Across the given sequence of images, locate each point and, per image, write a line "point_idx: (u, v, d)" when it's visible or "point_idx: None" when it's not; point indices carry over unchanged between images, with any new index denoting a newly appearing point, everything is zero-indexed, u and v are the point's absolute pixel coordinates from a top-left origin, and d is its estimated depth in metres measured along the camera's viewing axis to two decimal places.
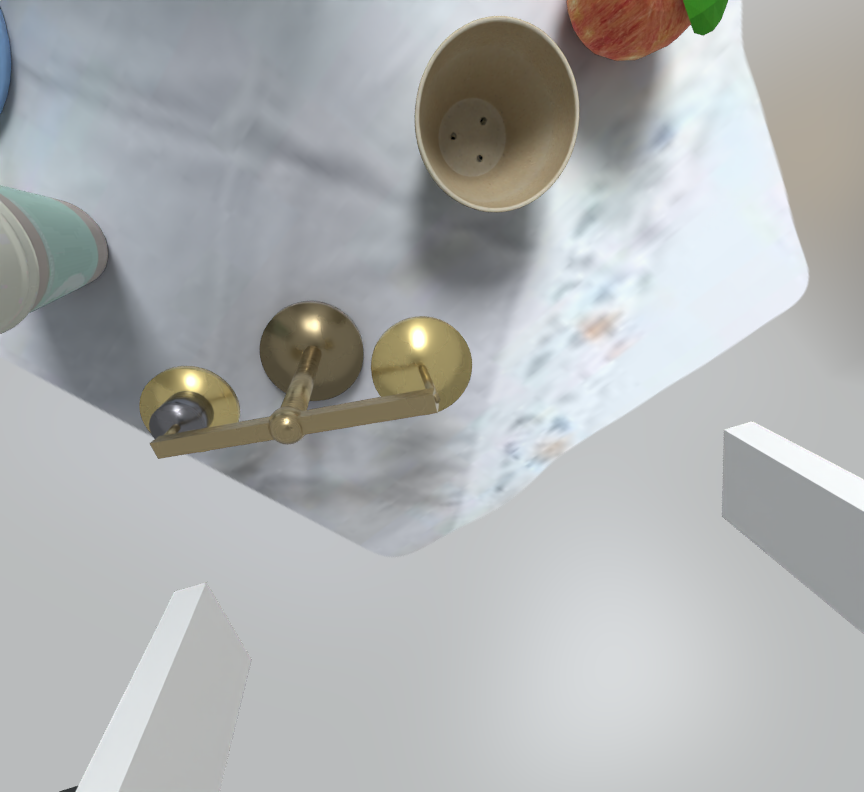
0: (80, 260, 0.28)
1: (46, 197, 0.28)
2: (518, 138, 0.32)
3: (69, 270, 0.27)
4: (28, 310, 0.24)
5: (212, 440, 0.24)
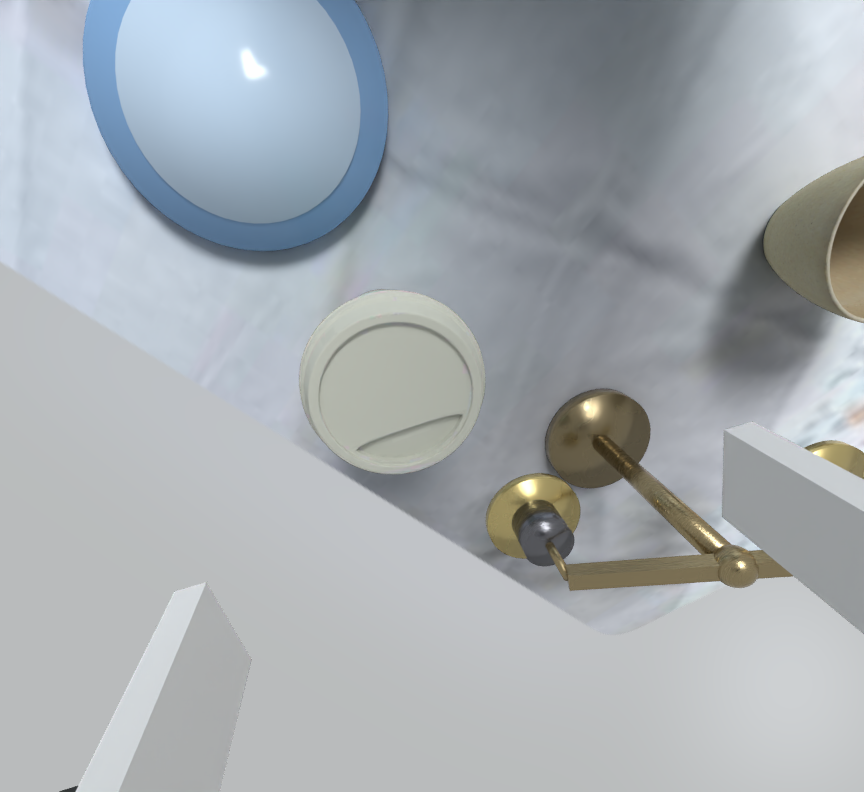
0: None
1: None
2: (854, 235, 0.31)
3: None
4: None
5: (644, 577, 0.23)
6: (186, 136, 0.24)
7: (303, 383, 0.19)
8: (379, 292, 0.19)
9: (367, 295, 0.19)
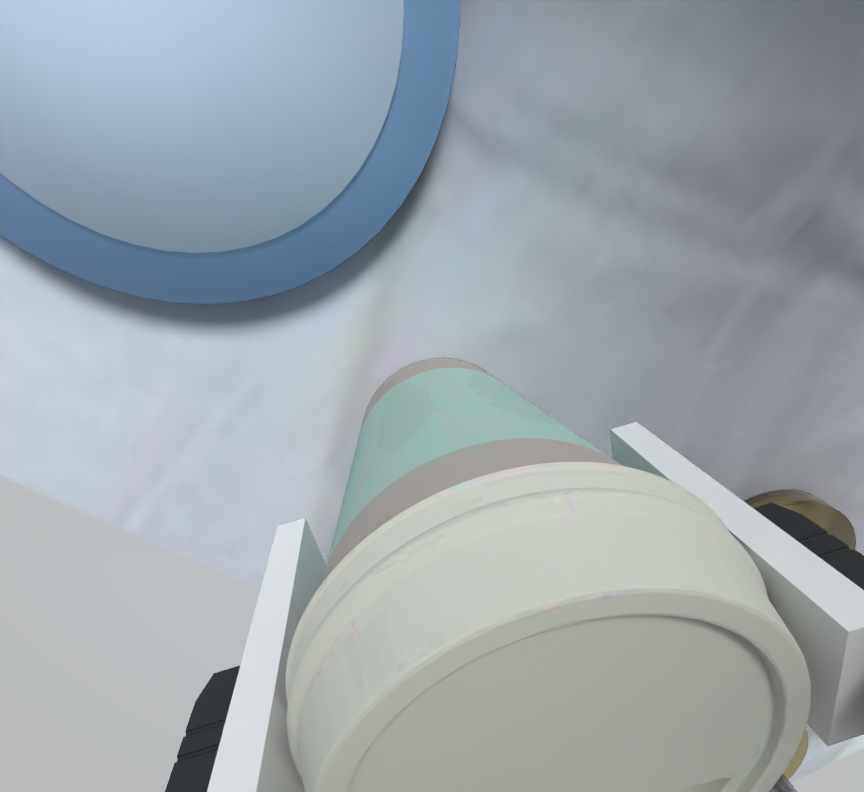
0: None
1: (491, 378, 0.14)
2: None
3: None
4: None
5: None
6: (33, 74, 0.11)
7: (295, 733, 0.07)
8: (511, 473, 0.07)
9: (476, 484, 0.07)
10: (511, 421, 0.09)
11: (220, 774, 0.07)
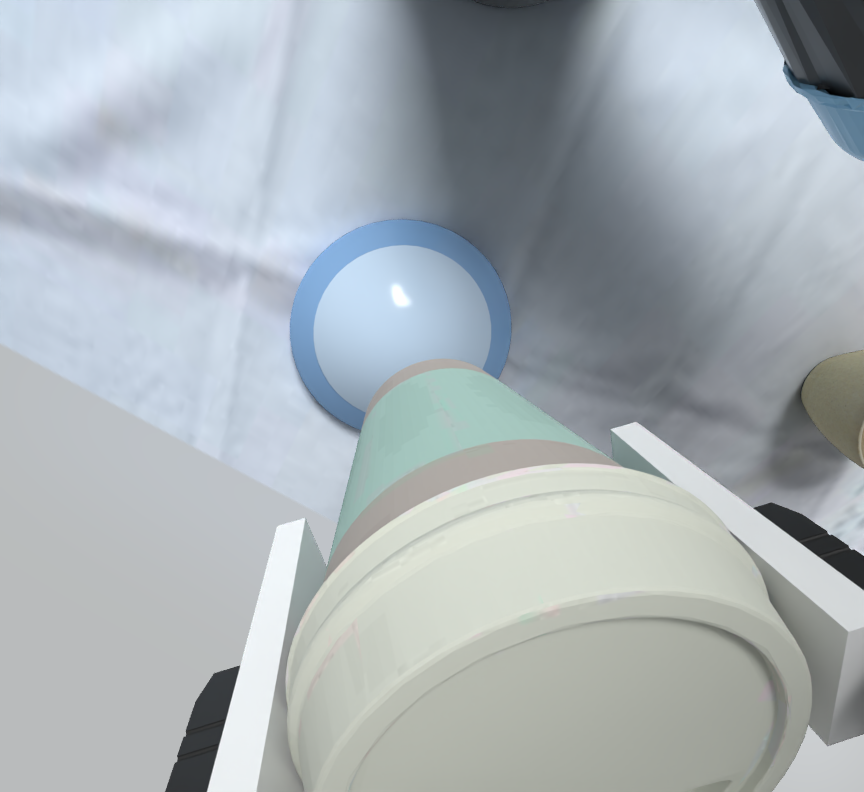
0: None
1: (491, 378, 0.14)
2: None
3: None
4: None
5: None
6: (360, 366, 0.31)
7: (295, 735, 0.07)
8: (512, 475, 0.07)
9: (477, 485, 0.07)
10: (511, 422, 0.09)
11: (220, 774, 0.07)
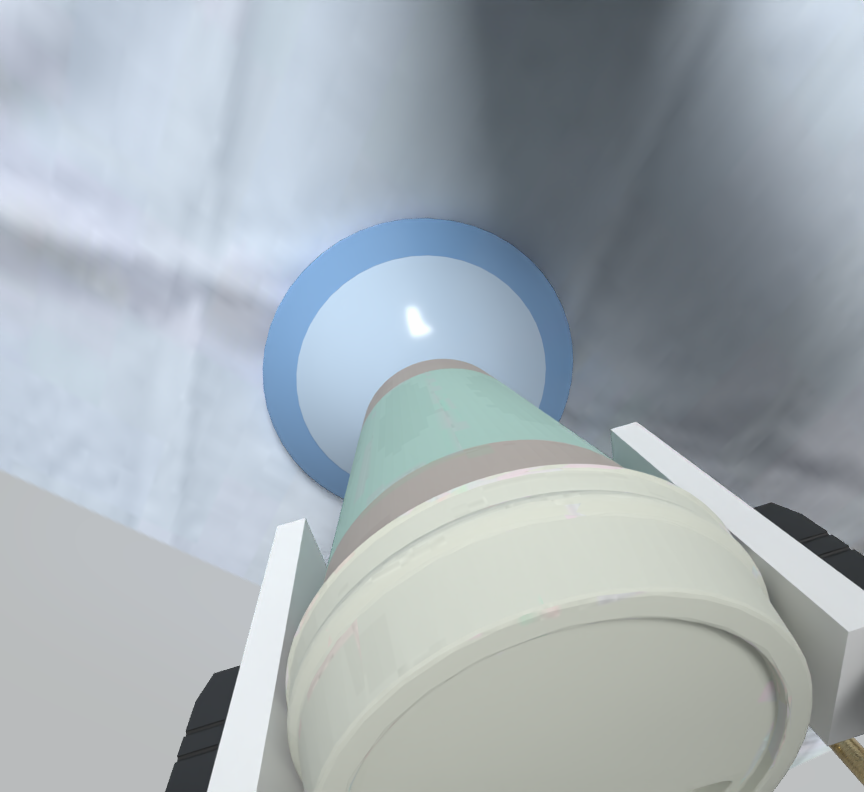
0: None
1: (491, 379, 0.14)
2: None
3: None
4: None
5: None
6: None
7: (294, 736, 0.07)
8: (512, 475, 0.07)
9: (477, 486, 0.07)
10: (511, 422, 0.09)
11: (220, 774, 0.07)
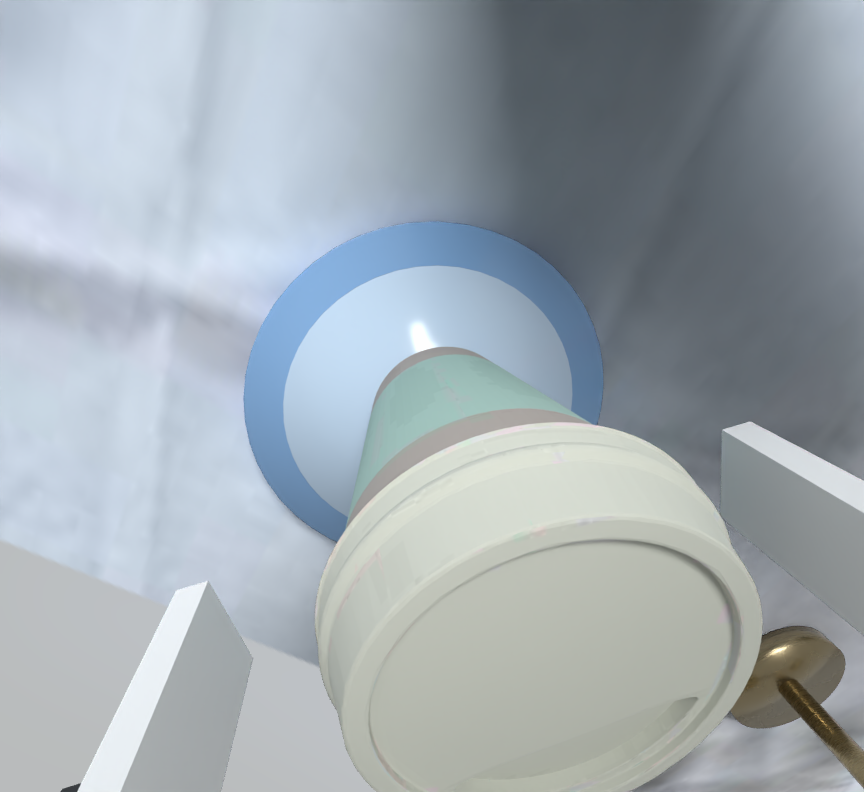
0: None
1: (492, 363, 0.15)
2: None
3: None
4: None
5: None
6: None
7: (325, 653, 0.08)
8: (508, 431, 0.08)
9: (479, 440, 0.08)
10: (509, 396, 0.11)
11: None
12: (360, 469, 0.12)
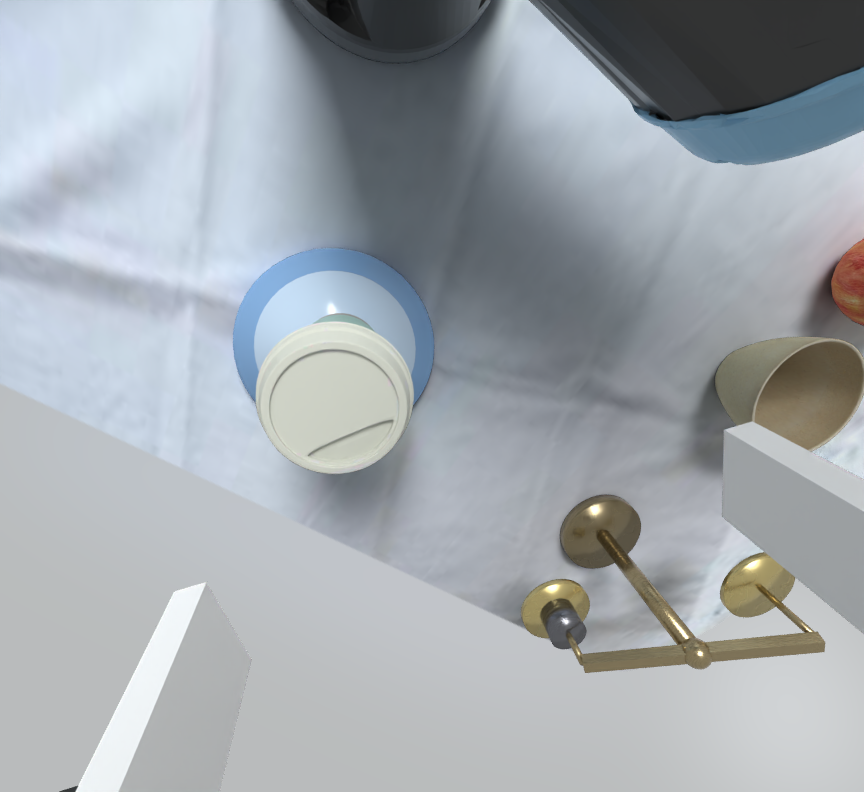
0: None
1: (354, 318, 0.31)
2: (783, 376, 0.41)
3: None
4: None
5: (635, 663, 0.33)
6: None
7: (258, 404, 0.24)
8: (314, 324, 0.23)
9: (304, 328, 0.23)
10: (335, 322, 0.26)
11: None
12: None
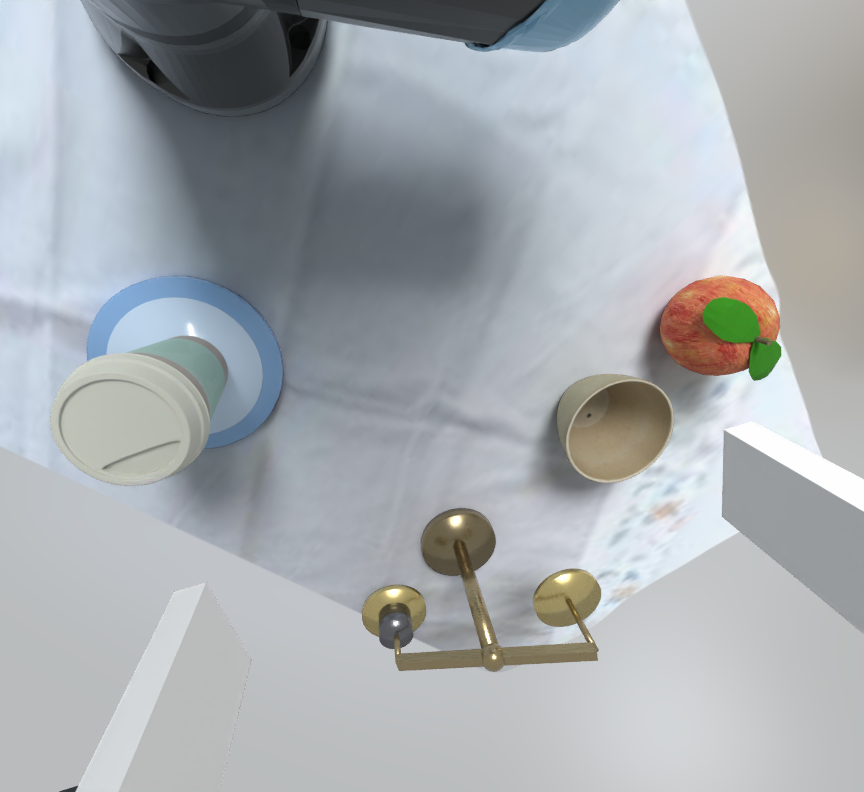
0: (219, 395, 0.34)
1: (190, 342, 0.34)
2: (619, 407, 0.45)
3: (215, 408, 0.33)
4: (198, 455, 0.30)
5: (440, 664, 0.37)
6: None
7: None
8: (107, 355, 0.27)
9: (98, 357, 0.27)
10: (146, 350, 0.30)
11: None
12: None
